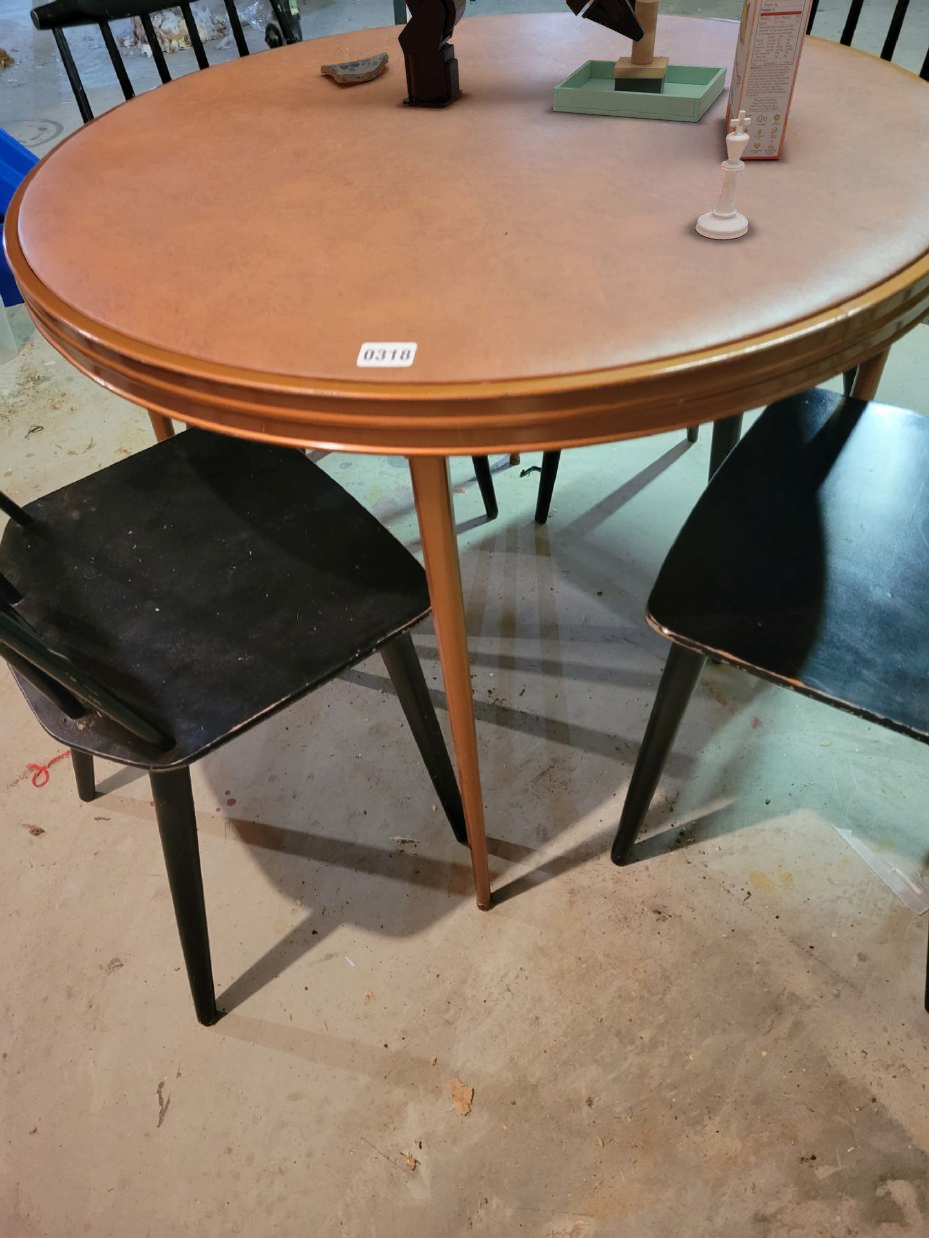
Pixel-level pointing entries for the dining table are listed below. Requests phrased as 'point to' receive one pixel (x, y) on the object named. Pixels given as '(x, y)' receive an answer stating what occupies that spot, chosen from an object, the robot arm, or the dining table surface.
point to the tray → (680, 100)
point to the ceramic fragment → (357, 69)
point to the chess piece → (728, 190)
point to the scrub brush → (642, 56)
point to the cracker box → (766, 71)
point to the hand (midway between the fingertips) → (646, 29)
